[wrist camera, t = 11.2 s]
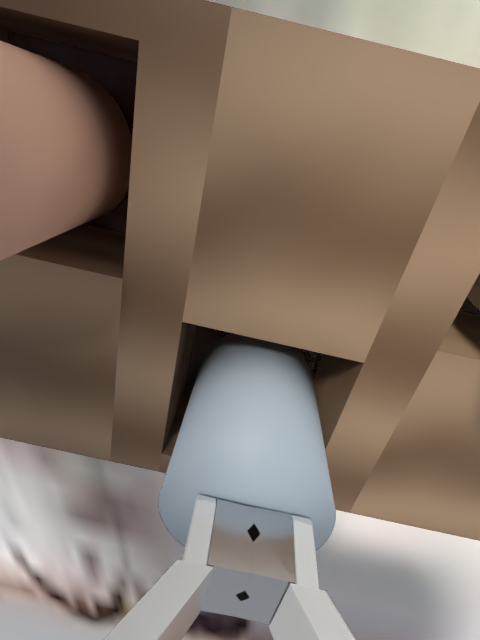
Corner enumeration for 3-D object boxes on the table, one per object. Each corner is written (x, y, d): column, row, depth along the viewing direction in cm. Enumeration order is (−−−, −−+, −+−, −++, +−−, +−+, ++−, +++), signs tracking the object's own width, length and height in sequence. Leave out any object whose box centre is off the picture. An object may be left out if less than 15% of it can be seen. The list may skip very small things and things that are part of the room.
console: (-56, -22, 12) (-224, -107, 8) (701, 163, 12) (908, 174, 8) (-10, 358, 18) (-88, 418, 14) (480, 466, 19) (535, 552, 15)
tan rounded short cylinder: (-13, 45, 11) (-300, -50, 5) (139, 83, 11) (10, 26, 5) (0, 203, 13) (-197, 249, 7) (128, 233, 13) (26, 300, 8)
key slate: (209, 317, 14) (170, 431, 8) (327, 344, 14) (362, 474, 8) (191, 410, 16) (150, 548, 10) (294, 432, 16) (305, 581, 11)
